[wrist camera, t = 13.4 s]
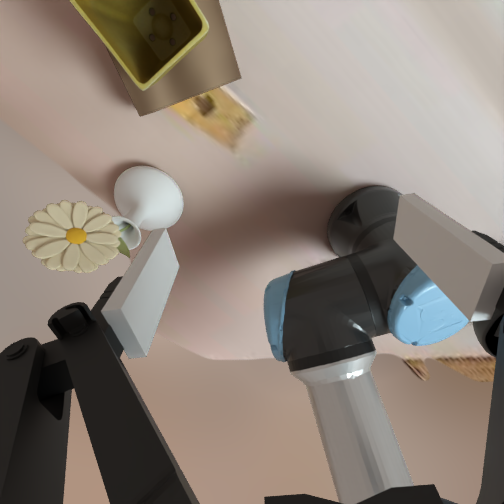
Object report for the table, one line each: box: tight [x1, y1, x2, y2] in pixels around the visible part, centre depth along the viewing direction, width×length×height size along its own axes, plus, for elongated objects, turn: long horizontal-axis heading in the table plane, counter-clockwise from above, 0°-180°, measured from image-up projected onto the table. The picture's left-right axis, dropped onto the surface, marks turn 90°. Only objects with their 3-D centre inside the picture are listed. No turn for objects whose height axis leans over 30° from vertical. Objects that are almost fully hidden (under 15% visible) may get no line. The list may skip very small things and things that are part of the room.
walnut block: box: [105, 0, 241, 117], centre depth 34 cm, size 14×14×6 cm
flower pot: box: [69, 0, 209, 91], centre depth 27 cm, size 9×9×9 cm
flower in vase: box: [23, 166, 184, 273], centre depth 36 cm, size 13×11×25 cm
